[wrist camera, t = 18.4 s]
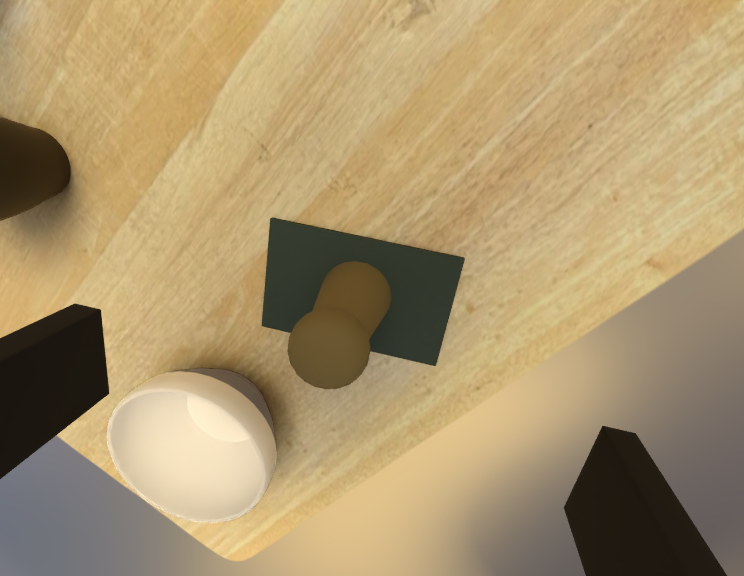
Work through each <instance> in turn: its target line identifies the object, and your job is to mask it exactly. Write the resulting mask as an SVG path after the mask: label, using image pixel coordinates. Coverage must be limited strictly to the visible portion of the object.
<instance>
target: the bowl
mask: <svg viewBox="0 0 744 576" xmlns="http://www.w3.org/2000/svg"><path fill="white" fill-rule="evenodd" d="M107 445H108V449H109V452H110V456H111V459H112V461H113V463H114V465H115V467H116V469H117V471H118V472H119V474H120V475H121V476H122V478H123V479H124V481H125V482H126V483H127V484H128V485H129V486H130V487H131V488H132V489H133V490H134V491H135V492H136V493H137V494H138V495H139V496H140V497H142V498H143V499H144V500H145V501H147V502H148V503H149V504H151V505H153V506H154V507H156V508H158V509H159V510H161V511H163V512H165V513H168V514H170V515H172V516H175V517H177V518H181V519H185V520H188V521H193V522H200V523H220V522H225V521H230V520H234V519H236V518H238V517H241V516H243V515H245V514H246V513H248V512H249V511H250V510H252V509H253V508H254V507H255V506H256V504H257V503H258V502H259V501H260V499H261V498H262V496H263V495H264V493H265V492H266V490H267V488H268V485H269V483H270V481H271V478H272V475H273V473H274V470H275V466H276V459H277V451H276V439H275V432H274V428H273V421H272V418H271V415H270V412H269V410H268V408H267V405H266V402H265V399H264V397H263V395H262V394H261V392H260V391H259V390H258V388H257V387H256V386H255V385H254V384H253V383H252V382H250V381H249V380H248V379H246V378H245V377H243V376H242V375H240V374H237V373H235V372H233V371H229V370H225V369H208V368H195V369H185V370H176V371H172V372H168V373H163V374H160V375H157V376H154V377H151V378H150V379H148V380H146V381H145V382H143V383H142V384H140V385H139V386H137V387H136V388H134V389H133V390H131V391H130V392H129V393H128V394H127V395H126V396H125V397H124V398H123V399H122V401H121V402H120V403H119V404H118V405H117V406H116V407H115V408H114V410H113V412H112V414H111V416H110V418H109V421H108V426H107Z"/></svg>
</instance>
